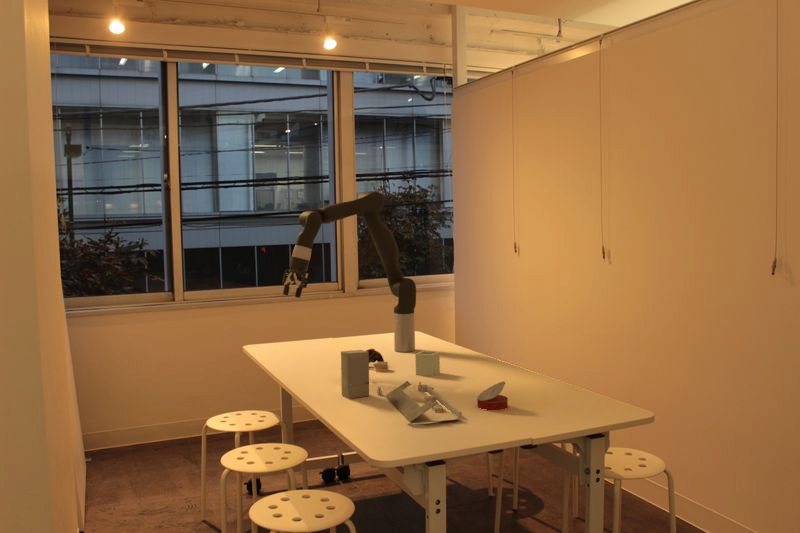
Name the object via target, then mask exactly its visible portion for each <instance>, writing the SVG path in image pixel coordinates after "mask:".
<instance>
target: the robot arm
mask: <svg viewBox="0 0 800 533" xmlns="http://www.w3.org/2000/svg"><path fill="white" fill-rule="evenodd" d="M384 205H385V198H384V195H383V194H382V193H380V192H379V191H375V190H374V191H373V190H370V191H364V192H361V193H359V195H358V196H357V199H354V200H353V199H352V200H348V201H343V202H338V203H334V204H330V205H327V206H324V207H320V208H314V209H309V210H305V211H303V212H302V213H301V214H299V218H298V223H299V225H300V226H302V228H303V230H302V231H301V232H299V233H298V234H297V238H296V240H295V246H294V248H293V251H292V253H291V254H292V255H291V257H290V262H289V267H290V269H285V270H284V274H283V277H282V281H281V283H282V284H283V285H284V286H283V290H282V294H283V295H285V296H288V295H289V293H290V288H291V285H292V284H294V283H295V284H296V287H297V288H296V290H295V292H294V293H295V294H294V297H295V298H297V299H300V298H301V295H302V291H303V290H304V289H307V287H308V283H309V277H310V274H309V273H307V271H308V268H309V264H310V260H311V256H312V250H313V247H314V241H315V239H316V237H317V235H318V234H319V231H320V229H321V227H322V224H329V223H334V222H337V221H340V220H344V219H347V218H349V217H352V216H356V215H359V214H361V216H362V217H363V219H364V222H365V224H366V225H367V228H368V231H369V232H370V236H371V238H372V241H373V244H374V246H375V250H376V252H377V254H378V257H379V259H380V262H381V264H382V267H383V268H384V272H385V275H386V279H387V282H388V286H389V289H390V291H391V293H392V295H393V296H394V297H397V298H398V299H397V302H398V303H397V305H395V306H394V307H393V326H394V327H393V330H394V331H393V332H394V336H393V337H394V338H393V339H394V340H393V341H394V351H395V352H398V353H408V352H414V351H415V350H416V343H415V342H416V335H415V332H416V331H415V308H416V306H417V305H416V304H417V285H416V283H415V281H414V280H413V279H412V278H409V277H404V275H403V273H402V271H401V268H400V265H399V257H400V256H399V247H398V244H397V242H396V239H395V236H394V234H393V233H392V231H391V230H390V229H389V227H388V226H387V225H386V224H385V223H384V222H383V221H382V219H381V217H380V215H379V211H380V210H382V209H383V207H384Z"/></svg>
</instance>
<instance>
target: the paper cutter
mask: <svg viewBox="0 0 800 533" xmlns="http://www.w3.org/2000/svg"><path fill="white" fill-rule="evenodd" d="M410 386H412V383H410V382H409V381H408V380H407V381H405V382H403V383H401V385H399V386H397V387H396V388H394V389H393V390H392V391H389V393H386V395H385V397H386V398H387V399H388V400H389V401H390V403H391V404H393V406H394V407H396V409H397V410H399V411H400V413H402V415H403V416H404V417H405V418H406V419H407V420H408V421H409V422H410V425H425V424H434V423H439V422H441V420H435V421H425V422H424V421H423V422H413V421H414V420H415V419H417V418H419V417H420V416H422V415H423V414H425V413H426V412H428V411H429V410H430V409H431V410H432V409H433V410H434V411H435V412H434V411H433V410H432V411H433V412H434V413H438V412H437V411H443V412H444V409H443V407H442V406H441V405H438V404H436V403H434V402H436V400H438V401H439V402H440V403H441V404H442V405H444V406H445V407H446V408H447V409H448V410H450V411H451V412H452V413H451V414H453V415H454V414H455V415H456V416H457V417H458V418H455V419H454V421H457V420H460V419H461V420H463V419H464V417H462V411H461V410H459V409H458V408H457V407H455V406H454V405H453V404H451V403H450V401H448V400H446V398H444V397H443V396H441V395H440V394H439V393H438V392H437V391H435V390H434V389H432V388H431V387H430V386H429V385H427V384H422V382H421V381H418V385H417V391H418V392H422V393H424V392H428V393H429V394H430V395H431V396H427V395H424V398H423V399H424V404H423V405H421V406H420V405H419V404H418V403H417V402H416V401H414V400H413V399H412V398H411V397H410V396H409V395H408V394H407V393H406V392H405V391H404V390H406V389H408V388H409V387H410ZM377 388H378V389H377V392H376V393H377V394H376V395H377V396H379V395H381V396H383V391H382V388H381V387H380V386H378V387H377ZM425 402H426V403H425ZM455 415H454V416H455ZM456 416H455V417H456ZM450 420H451V419H446V420H445V419H444V420H443V422H450Z"/></svg>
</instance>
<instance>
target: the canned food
mask: <svg viewBox="0 0 800 533" xmlns="http://www.w3.org/2000/svg"><path fill="white" fill-rule="evenodd" d="M505 384H506V382H505V381H500V382H497V383H496V384H494V385H491V386H490V387H488V388H487V389H484V390H483V391H482V392H480V393H479V395H478V396H477V398H476V399H477V400H476V401H477V402H476V403H477V406H478V407H479V408H481V409H480V410H482V409H487V410H486V411H488V410H498V411H500V410H499V409H504V410H506V409H508V407H509V405H508V404H509V403H508V397H507V396H505V395H502V394H501V393H502V391H503V389H504V388H505ZM478 407H477V408H478ZM479 408H478V409H479ZM505 408H506V409H505Z"/></svg>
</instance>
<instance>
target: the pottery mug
mask: <svg viewBox="0 0 800 533" xmlns="http://www.w3.org/2000/svg"><path fill="white" fill-rule="evenodd" d="M365 351H367V352H369V364H371V363H377V362H385V359H384V357H383V355H382V354H381V352H379V351H378V350H376V349H375V348H370V349H366V350H365Z"/></svg>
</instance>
